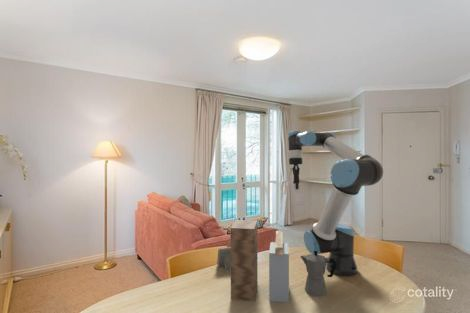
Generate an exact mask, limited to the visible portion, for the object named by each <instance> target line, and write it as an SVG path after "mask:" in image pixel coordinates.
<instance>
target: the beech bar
mask: <svg viewBox="0 0 470 313" xmlns="http://www.w3.org/2000/svg"><path fill="white" fill-rule="evenodd" d="M283 238H284V236H283V230H275V242H276V243H275V255H283V243H284V241H283V240H284V239H283Z"/></svg>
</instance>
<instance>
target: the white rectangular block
mask: <svg viewBox="0 0 470 313" xmlns="http://www.w3.org/2000/svg"><path fill="white" fill-rule="evenodd" d="M269 243H270V244H269V252H268V268H269V269H268V275H269V276H268V282H269V284H268V287H269V288H268V290H269V291H268V292H269V293H268V299H269V300H268V302H275V303H290V274H289V273H290V250H289V243H288V242H283V255H275V243H276V241H272V242H269Z"/></svg>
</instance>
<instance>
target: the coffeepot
mask: <svg viewBox="0 0 470 313" xmlns="http://www.w3.org/2000/svg"><path fill="white" fill-rule="evenodd" d="M317 253H318V252H317V251H314V254H311V253H309V254H306V255H301V256H300V259H301V260H302V261H303V262H304V265H305V268H306V272H307V276H306V282H305V286H304V290H305V292H306V294H308V295H309V296H312V297H317V298H318V297H323V296H325V295H326V294H327V293H328V292H327V287H326V286H327V285H326V282H325V277H324V275H325V273H326V269H327V268H326V263H333V265H332V269H331V271H329V274H326V277H327V278H333V275H334V271H335V269H336V266H337V262H336V261H335V260H334V259H333V258H328V257H325V256H324V255H322V254H317Z"/></svg>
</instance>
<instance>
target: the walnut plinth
mask: <svg viewBox="0 0 470 313" xmlns="http://www.w3.org/2000/svg"><path fill="white" fill-rule="evenodd" d="M230 247H231V269H230V300H237V301H249V302H256V301H255V300H256V295H257V290H258V284H259V283H258V220H249V219H248V220H247V219H246V220H245V219H235V221H234V222H233V224H232V225H231V226H230Z"/></svg>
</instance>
